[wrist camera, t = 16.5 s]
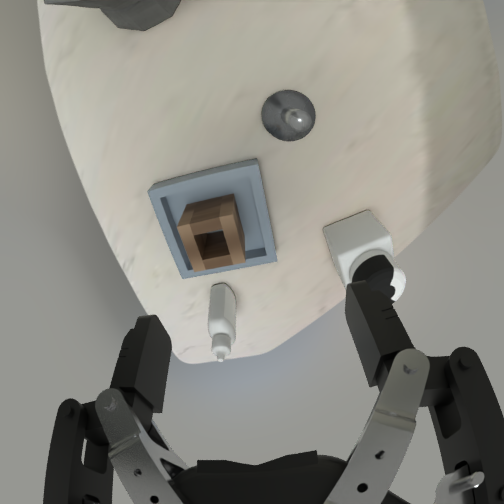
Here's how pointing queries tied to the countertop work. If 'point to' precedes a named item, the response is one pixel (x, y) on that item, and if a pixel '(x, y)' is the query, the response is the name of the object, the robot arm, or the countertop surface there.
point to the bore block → (213, 244)
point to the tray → (210, 186)
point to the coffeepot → (128, 11)
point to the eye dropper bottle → (222, 320)
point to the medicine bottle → (365, 254)
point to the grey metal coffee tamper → (288, 115)
